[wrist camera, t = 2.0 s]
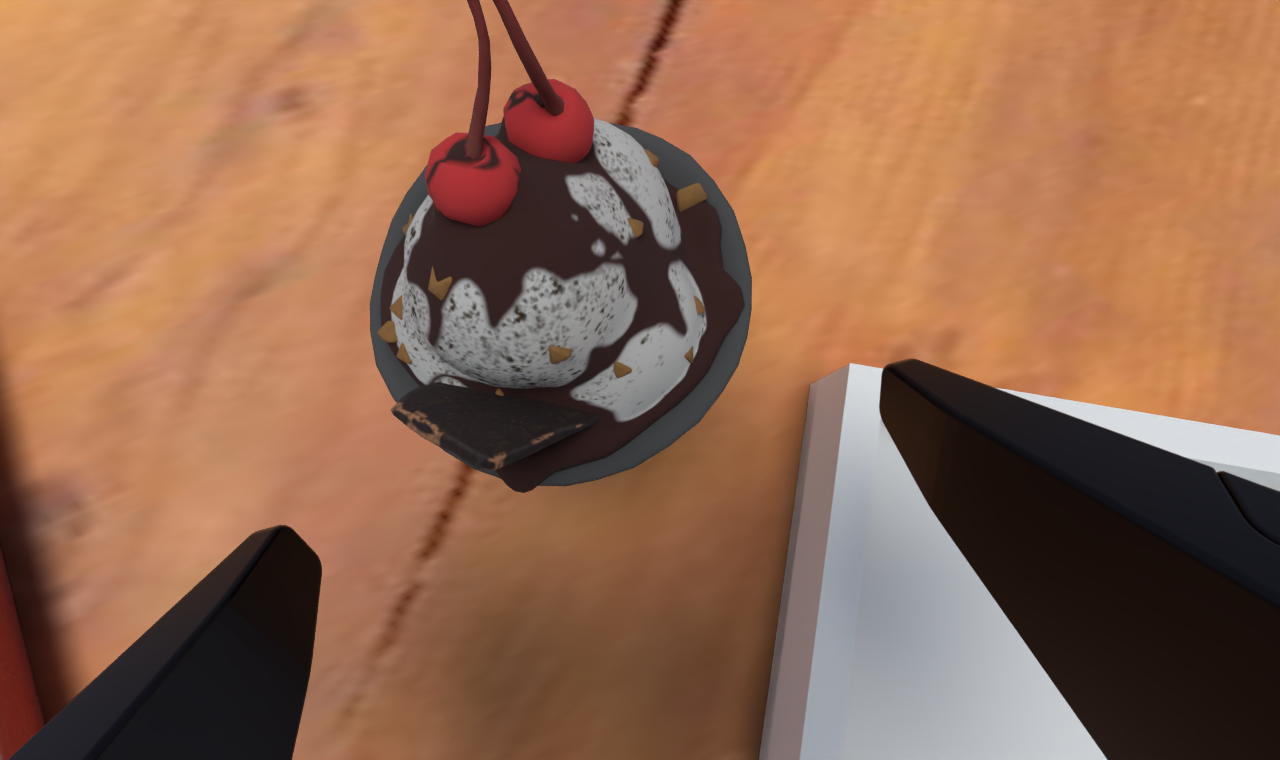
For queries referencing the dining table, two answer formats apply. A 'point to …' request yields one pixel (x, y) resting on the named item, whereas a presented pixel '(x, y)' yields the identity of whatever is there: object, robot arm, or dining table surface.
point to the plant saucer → (15, 678)
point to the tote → (922, 599)
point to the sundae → (557, 289)
